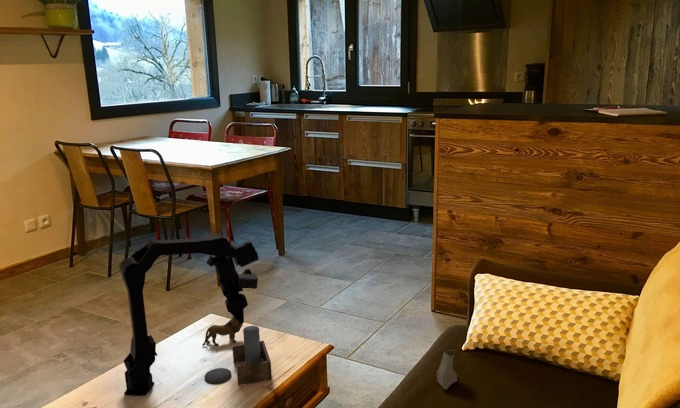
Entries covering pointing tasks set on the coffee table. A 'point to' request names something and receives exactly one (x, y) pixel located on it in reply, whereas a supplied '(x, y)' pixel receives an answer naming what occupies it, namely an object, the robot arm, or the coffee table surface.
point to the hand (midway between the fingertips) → (240, 316)
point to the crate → (252, 366)
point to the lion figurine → (223, 331)
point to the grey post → (252, 344)
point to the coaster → (217, 375)
